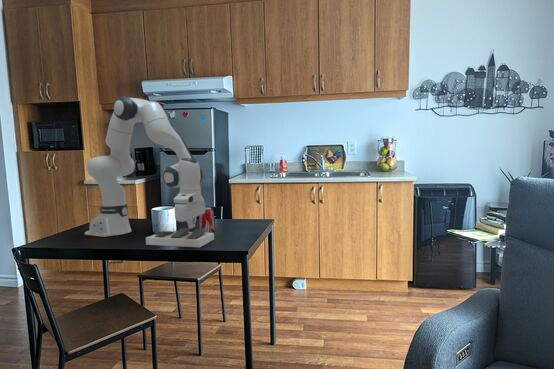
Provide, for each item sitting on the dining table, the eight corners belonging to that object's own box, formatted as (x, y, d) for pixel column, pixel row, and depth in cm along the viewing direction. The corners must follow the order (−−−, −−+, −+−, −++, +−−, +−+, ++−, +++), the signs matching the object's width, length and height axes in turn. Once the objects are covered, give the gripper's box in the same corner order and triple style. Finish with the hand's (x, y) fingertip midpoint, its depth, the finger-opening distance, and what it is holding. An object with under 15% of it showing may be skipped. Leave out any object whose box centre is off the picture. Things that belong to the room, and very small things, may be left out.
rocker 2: (187, 241, 162) (187, 237, 162) (197, 231, 170) (196, 228, 170) (196, 241, 161) (195, 238, 161) (205, 232, 169) (204, 228, 169)
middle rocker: (171, 239, 164) (170, 236, 164) (181, 231, 173) (180, 228, 172) (179, 240, 163) (178, 237, 163) (189, 231, 172) (188, 228, 171)
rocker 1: (155, 235, 166) (155, 231, 166) (166, 234, 175) (166, 231, 175) (162, 235, 165) (163, 231, 165) (173, 235, 174) (174, 231, 174)
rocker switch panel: (146, 244, 165) (145, 237, 165) (164, 237, 178) (163, 230, 178) (199, 247, 158) (199, 240, 158) (214, 239, 171) (213, 232, 171)
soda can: (211, 233, 182) (210, 209, 181) (197, 233, 184) (196, 209, 183) (216, 230, 189) (215, 207, 188) (203, 230, 191) (202, 207, 189)
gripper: (195, 192, 172) (196, 222, 173) (171, 199, 152) (172, 232, 154) (208, 193, 170) (209, 223, 171) (185, 199, 150) (186, 233, 152)
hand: (191, 227), depth 162 cm, fingers closed
